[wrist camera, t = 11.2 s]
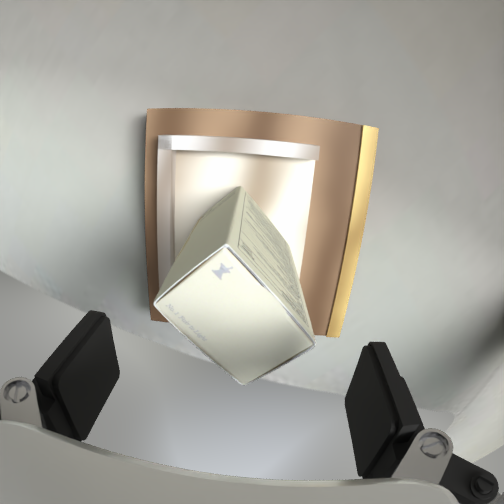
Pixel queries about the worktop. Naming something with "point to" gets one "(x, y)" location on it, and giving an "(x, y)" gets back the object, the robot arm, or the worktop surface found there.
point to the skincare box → (238, 292)
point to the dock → (263, 192)
